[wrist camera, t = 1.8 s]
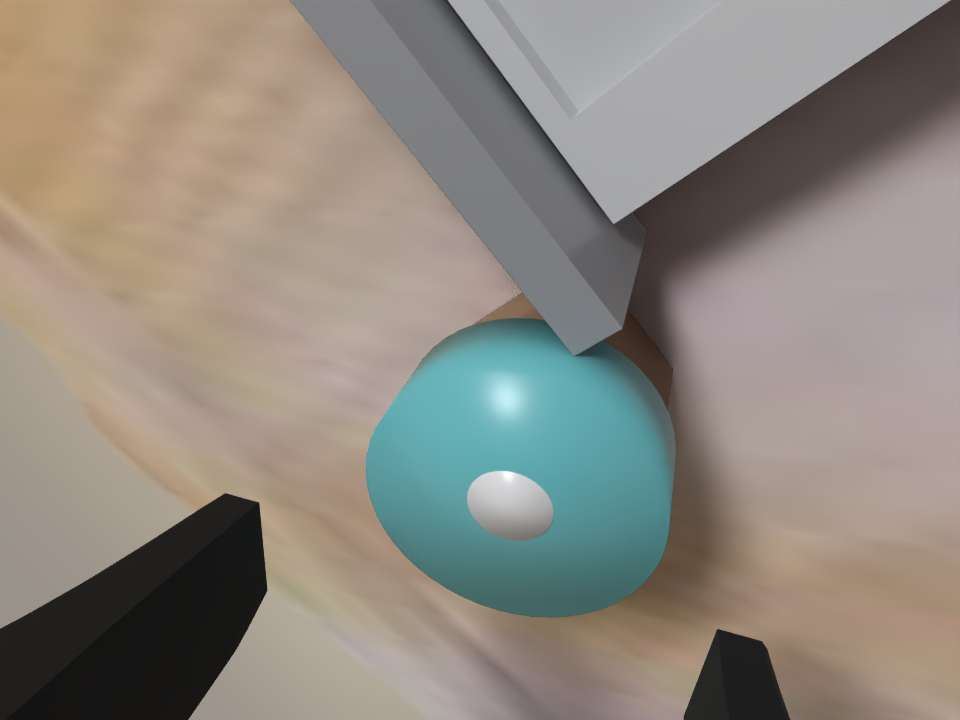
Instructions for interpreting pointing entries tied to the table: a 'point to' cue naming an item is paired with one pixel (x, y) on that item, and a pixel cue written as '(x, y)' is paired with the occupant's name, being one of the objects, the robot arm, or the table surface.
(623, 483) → the disc
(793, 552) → the table surface
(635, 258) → the tray
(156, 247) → the table surface
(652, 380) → the walnut block
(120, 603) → the robot arm
